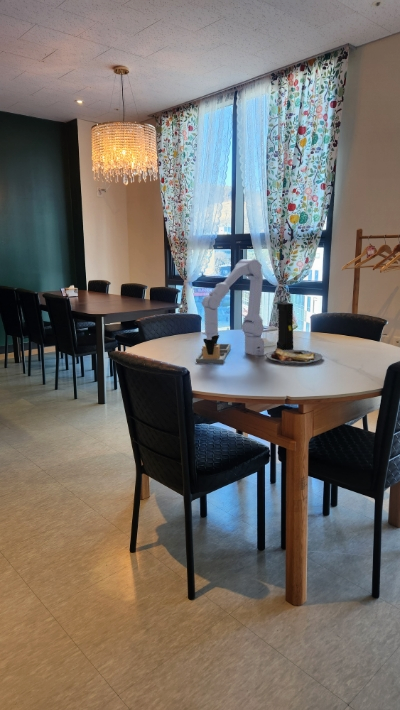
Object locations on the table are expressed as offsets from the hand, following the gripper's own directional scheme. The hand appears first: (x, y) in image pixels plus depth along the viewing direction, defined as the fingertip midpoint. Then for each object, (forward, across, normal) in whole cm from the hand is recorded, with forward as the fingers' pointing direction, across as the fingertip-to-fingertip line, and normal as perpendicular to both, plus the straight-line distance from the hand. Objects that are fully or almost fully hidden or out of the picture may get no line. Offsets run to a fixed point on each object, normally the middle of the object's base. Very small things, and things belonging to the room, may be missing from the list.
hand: (211, 352), depth 214 cm
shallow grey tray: (+3, 0, 0) cm, 3 cm away
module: (+3, 0, 0) cm, 3 cm away
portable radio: (+4, -27, +33) cm, 43 cm away
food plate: (+4, -4, +36) cm, 37 cm away
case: (+3, -15, 0) cm, 15 cm away
